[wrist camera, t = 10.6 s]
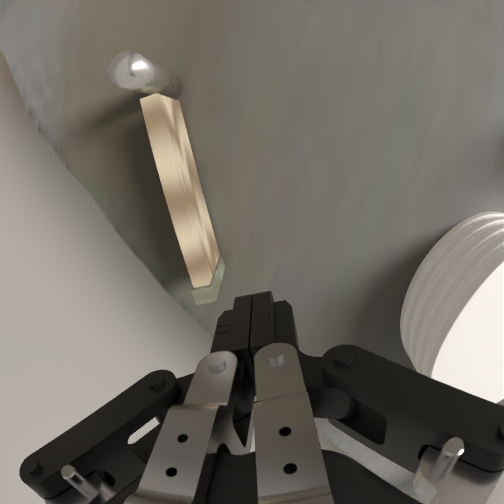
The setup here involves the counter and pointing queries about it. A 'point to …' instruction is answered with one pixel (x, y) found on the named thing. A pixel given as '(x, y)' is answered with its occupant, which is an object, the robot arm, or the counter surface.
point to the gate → (184, 195)
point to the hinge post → (143, 75)
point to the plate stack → (460, 309)
